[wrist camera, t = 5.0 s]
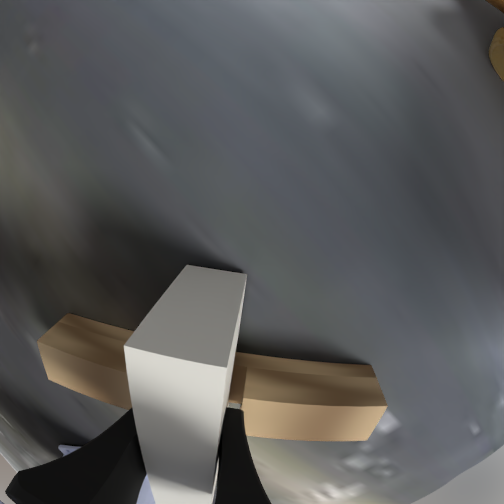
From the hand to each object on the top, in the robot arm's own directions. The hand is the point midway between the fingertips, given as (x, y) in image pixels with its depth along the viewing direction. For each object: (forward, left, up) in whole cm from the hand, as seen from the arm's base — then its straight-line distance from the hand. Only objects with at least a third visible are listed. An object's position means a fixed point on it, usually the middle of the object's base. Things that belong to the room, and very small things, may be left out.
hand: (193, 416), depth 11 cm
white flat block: (0, 0, -3) cm, 3 cm away
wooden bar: (0, 0, -3) cm, 3 cm away
